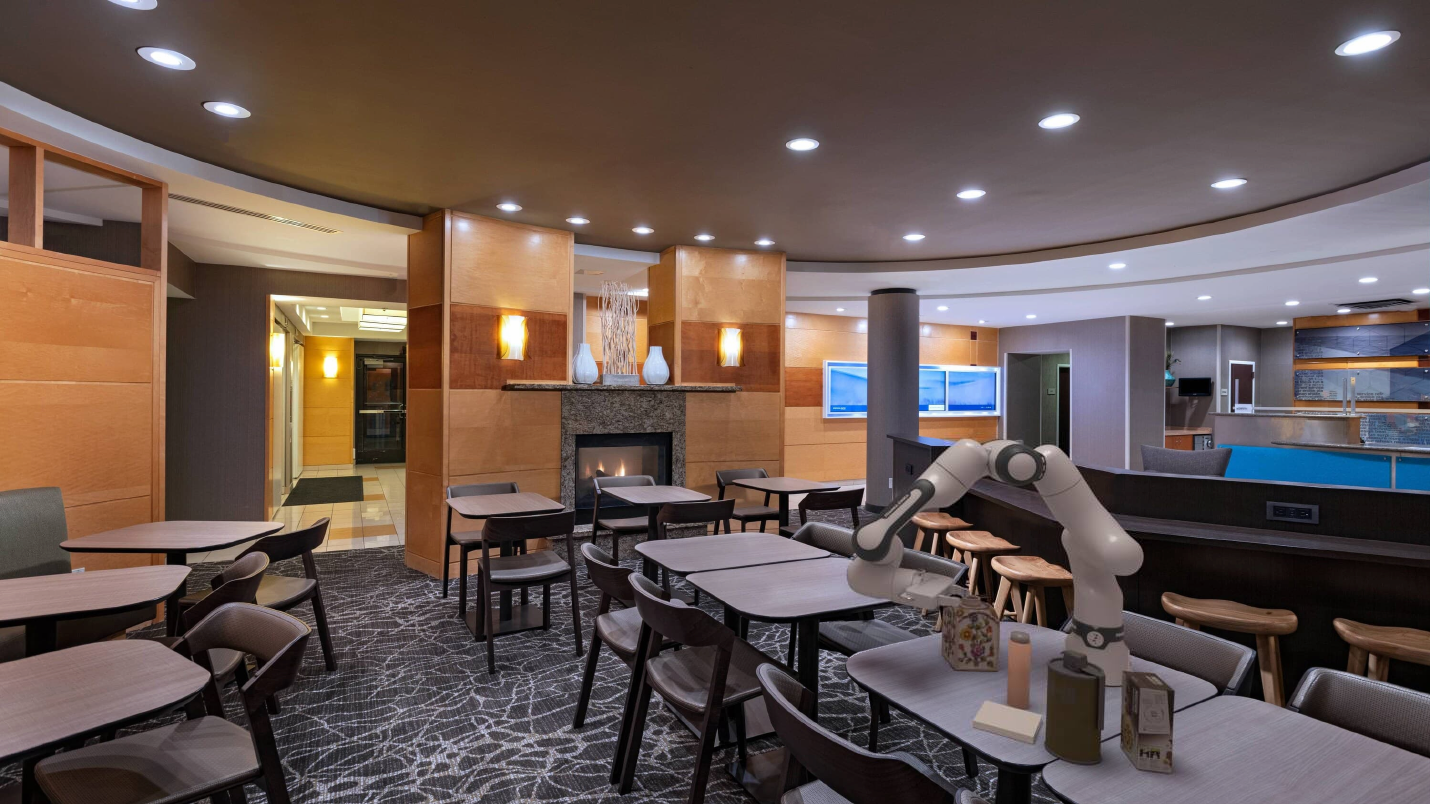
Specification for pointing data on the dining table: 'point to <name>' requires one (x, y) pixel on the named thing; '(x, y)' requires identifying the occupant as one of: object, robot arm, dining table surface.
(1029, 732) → the board
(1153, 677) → the coffee box
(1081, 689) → the canister
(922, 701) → the dining table surface
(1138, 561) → the robot arm
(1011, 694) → the shaker
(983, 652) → the decorative jar
